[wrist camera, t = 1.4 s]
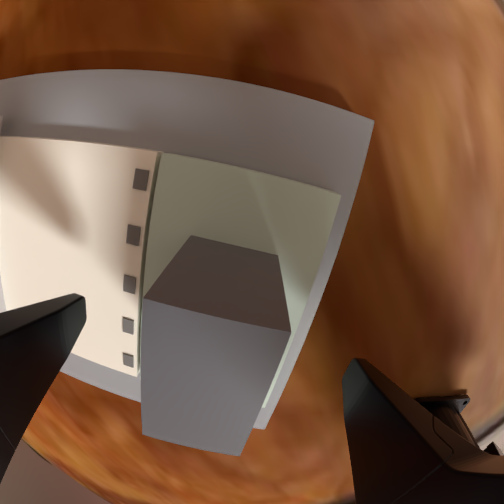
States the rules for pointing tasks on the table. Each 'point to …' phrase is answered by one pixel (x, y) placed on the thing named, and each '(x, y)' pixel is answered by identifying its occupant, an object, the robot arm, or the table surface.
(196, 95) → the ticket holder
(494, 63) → the table surface
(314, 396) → the table surface
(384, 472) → the robot arm
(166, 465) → the table surface
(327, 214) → the gray block on plate
